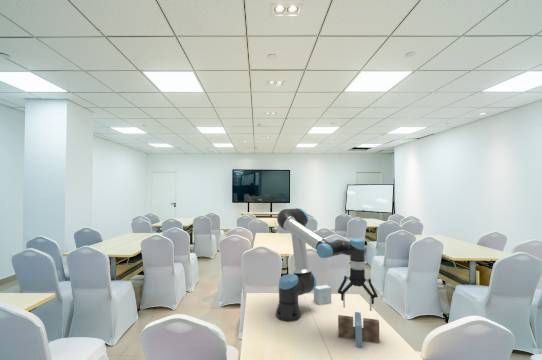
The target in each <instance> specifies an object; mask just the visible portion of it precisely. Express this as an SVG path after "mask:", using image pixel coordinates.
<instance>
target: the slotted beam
mask: <svg viewBox="0 0 542 360" xmlns="http://www.w3.org/2000/svg"><path fill="white" fill-rule="evenodd" d="M337 315H338V316H337V324H338V325H337V328H338V329H337V333H338V335H337V336H338V338H343V339H349V340H355V326H354V316H350V315H349V316H348V315H342V314H337ZM363 341H364V342H369V343H376V344H380V320H379V319H374V318H366V317H363V318H362V342H363Z"/></svg>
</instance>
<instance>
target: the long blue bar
mask: <svg viewBox="0 0 542 360" xmlns="http://www.w3.org/2000/svg"><path fill="white" fill-rule="evenodd" d="M354 327H355V339H354V340H355V347H357V348H358V347H359V348H363V341H362V328H363V320H362V313H361V312H360V311H359V312H357V311H354Z"/></svg>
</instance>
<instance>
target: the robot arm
mask: <svg viewBox="0 0 542 360" xmlns="http://www.w3.org/2000/svg"><path fill="white" fill-rule="evenodd" d="M276 217H277V218H276V221H277V224H278V225H279V227H280V228H281V229H283V230H284V231H286V232H290V235H291V242H292V244H291V245H292V250H293V259H294V260H293V261H294V267H295V269H294V271H293V274H292V273H289V274H284V275H282V276H281V277H279V280H278V304H277V307H276V311H275V316H276V318H277V319H278V320H281V321H284V322H294V321H298V320H301V317H302V312H301V308H300V305H299V296H302V295H305V294H308V293H311V292H314V289H315V287H316V286H317V277H316V276H315V274H314V273H312V272H313V271H312V270H311V269H310V267H309V261H308V252H307V245H308V246H310V247H311V248H312V249H314V250H315V251H316V254H317V255H318V257H319V258H321V259H328V258H331V257H336V256H339V255H344V256H345V255H346V256H349V266H350V268H349V276H347V275H344V276H343V279H342V282H341V283H340V286H339V288H338V290H337V293H338V294H340V300H341V301H342V304H343V305H342V307H343V308H345V307H346V292H347V291H348V290H349V289H351V287H353V286H354V287H362V288H363V289H364V290H365V291H366V292H367V294H368V295H369V311H370V312H372V311H373V310H372V309H373V305H374V304H375V298H376V299H377V298H378V297H379V296H378V293H377V291H376V290H375V288H374V286H373V283H372V279H371V277H367V278H366V276H365V275H366V271H365V268H366V267H365V266H366V263H365V262H366V259H365V256H366V255H365V254H366V253H365V252H366V244H365V240H364V239H362V238H361V239H360V238H351V239H350V241H348V240H343V239H335V238H334V239H333V240H332V241H330V242H329V241H328V240H326V239H324V238H323V237H321V236H320V235H318V234H317V233H315V232H313V231H312V230H311V229H309V228H308V227H307V226H306V225H307V224H308V222H309V216H308V213H307V212H306V210H304V209H303V208H298V207H297V208H284V209H282V210H280V211H279V212H278V214H277V216H276ZM306 244H307V245H306ZM348 280H349V283H348V284H347V285H346V286H345V284H346V282H347V281H348ZM365 283H368V285H369V287H370V289H371V290H370V289H369V288H368V286H367V285H366V284H365ZM344 286H345V287H344ZM343 288H344V289H343Z"/></svg>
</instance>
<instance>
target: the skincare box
mask: <svg viewBox="0 0 542 360" xmlns="http://www.w3.org/2000/svg"><path fill="white" fill-rule="evenodd" d="M313 303H315V304H317V305H318V306H321V305H327V304H331V303H332V287H331V286H329V285H327V284H323V285H316V287H315V289H314V290H313Z"/></svg>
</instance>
